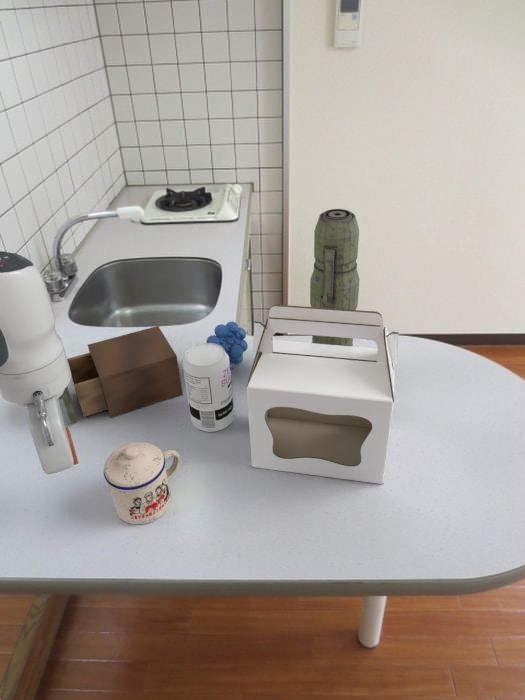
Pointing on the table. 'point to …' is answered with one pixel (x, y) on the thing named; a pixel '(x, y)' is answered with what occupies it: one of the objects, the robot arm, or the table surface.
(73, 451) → the block
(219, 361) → the supplement can
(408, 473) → the table surface
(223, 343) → the grapes
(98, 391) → the drawer
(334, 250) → the thermos
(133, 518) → the teacup with lid
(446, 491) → the table surface
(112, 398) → the cabinet
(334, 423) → the gable box
